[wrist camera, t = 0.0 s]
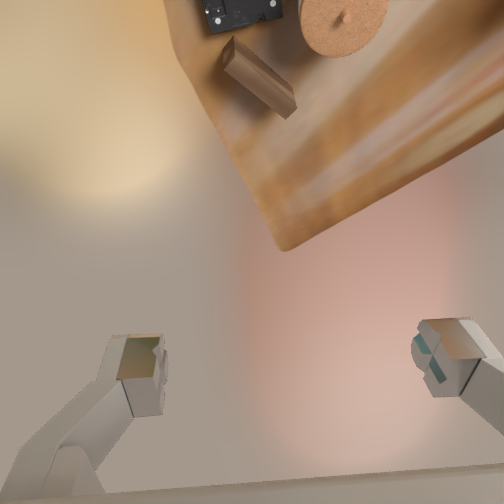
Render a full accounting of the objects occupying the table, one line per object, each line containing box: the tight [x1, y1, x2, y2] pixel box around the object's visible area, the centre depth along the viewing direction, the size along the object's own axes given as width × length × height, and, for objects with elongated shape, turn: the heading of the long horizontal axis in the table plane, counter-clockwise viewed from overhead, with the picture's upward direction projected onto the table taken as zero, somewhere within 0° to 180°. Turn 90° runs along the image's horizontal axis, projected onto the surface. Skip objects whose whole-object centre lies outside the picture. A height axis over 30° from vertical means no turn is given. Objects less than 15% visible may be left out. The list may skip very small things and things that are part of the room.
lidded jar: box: [298, 0, 389, 57], centre depth 46 cm, size 11×11×9 cm
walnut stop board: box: [223, 36, 297, 120], centre depth 55 cm, size 2×12×6 cm, turn 49°
